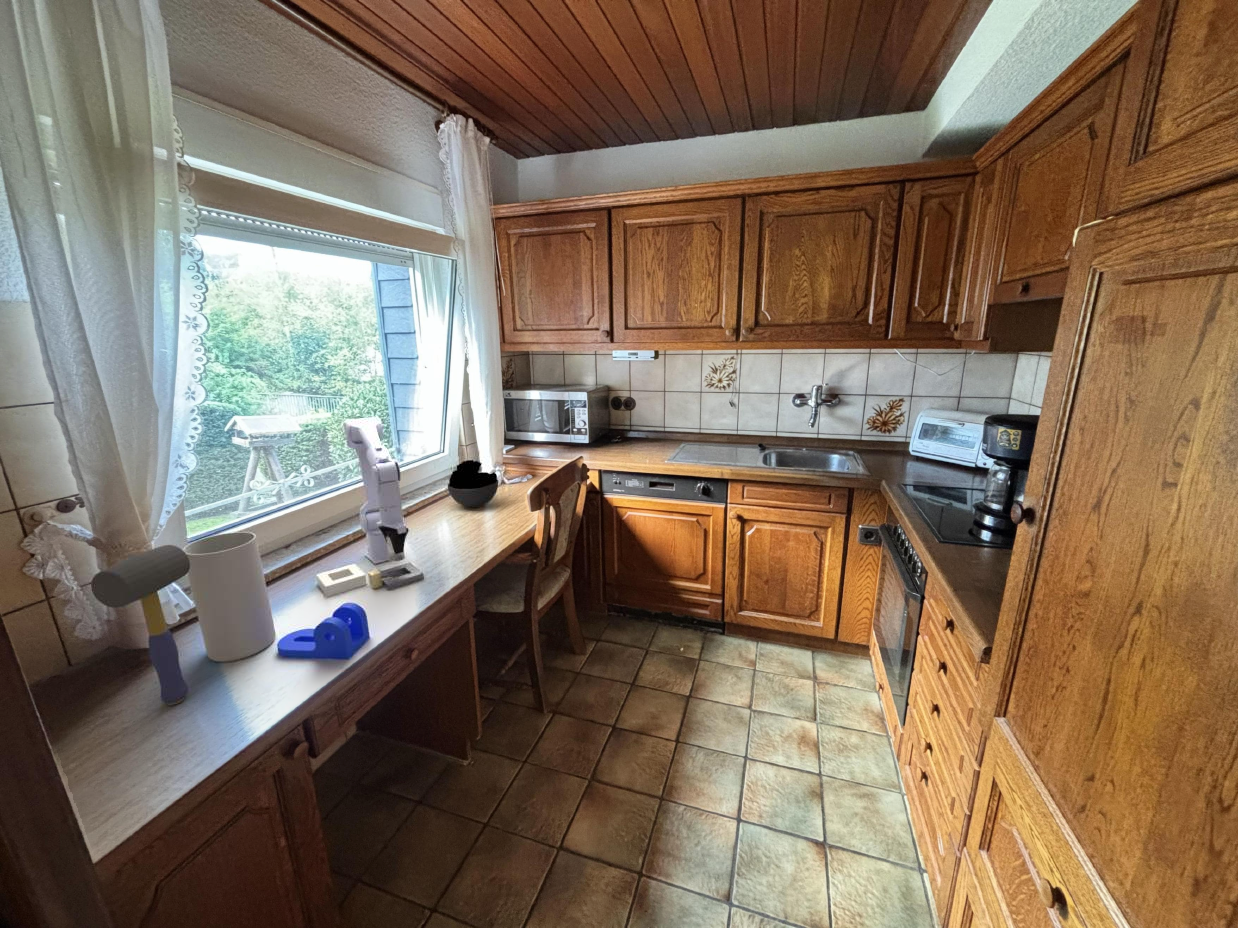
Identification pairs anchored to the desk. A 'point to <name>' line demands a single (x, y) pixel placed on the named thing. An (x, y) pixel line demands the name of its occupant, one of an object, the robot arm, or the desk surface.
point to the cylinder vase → (230, 595)
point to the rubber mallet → (149, 606)
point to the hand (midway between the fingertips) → (396, 550)
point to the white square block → (341, 579)
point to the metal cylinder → (392, 555)
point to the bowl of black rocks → (472, 484)
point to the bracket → (329, 636)
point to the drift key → (375, 579)
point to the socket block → (407, 568)
